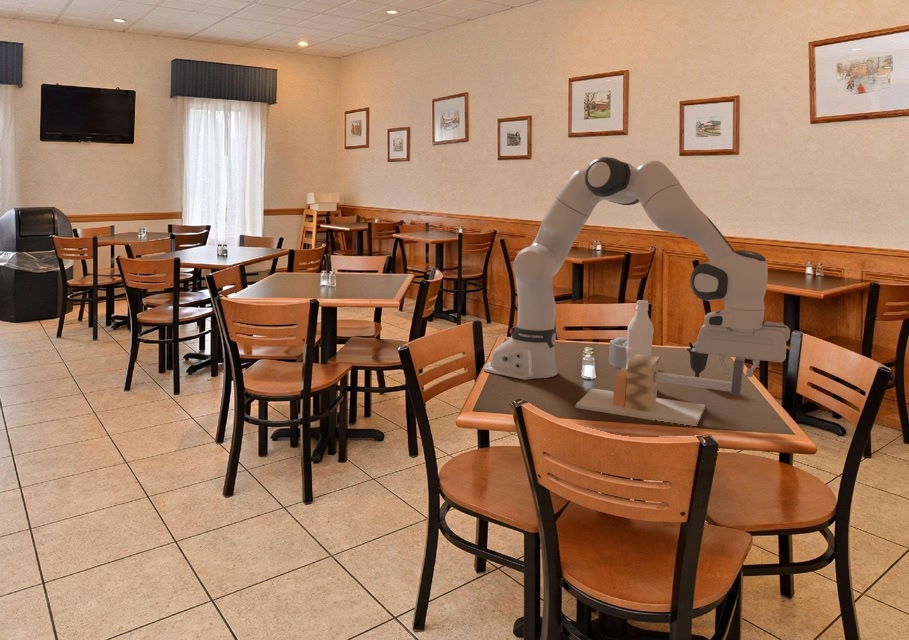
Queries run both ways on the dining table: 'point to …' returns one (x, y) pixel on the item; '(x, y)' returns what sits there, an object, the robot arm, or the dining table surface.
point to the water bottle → (639, 332)
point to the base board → (659, 411)
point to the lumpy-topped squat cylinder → (618, 352)
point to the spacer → (620, 388)
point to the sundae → (697, 359)
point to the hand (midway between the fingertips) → (737, 374)
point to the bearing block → (641, 382)
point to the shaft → (705, 382)
